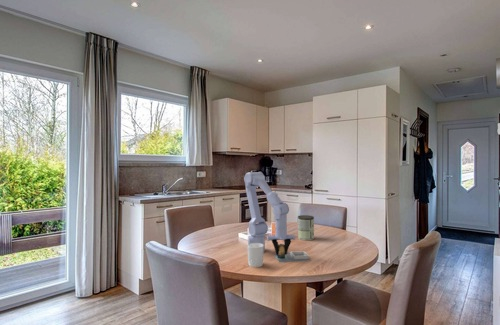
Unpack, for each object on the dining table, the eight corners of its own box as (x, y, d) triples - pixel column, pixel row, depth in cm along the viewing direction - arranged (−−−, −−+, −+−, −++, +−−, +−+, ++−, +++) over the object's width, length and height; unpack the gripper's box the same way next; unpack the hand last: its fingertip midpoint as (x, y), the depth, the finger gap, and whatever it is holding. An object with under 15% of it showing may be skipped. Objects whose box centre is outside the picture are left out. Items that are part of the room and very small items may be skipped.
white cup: (263, 263, 141) (263, 242, 141) (264, 269, 133) (264, 247, 133) (247, 263, 141) (246, 243, 141) (247, 269, 133) (247, 247, 133)
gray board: (279, 264, 139) (279, 259, 139) (273, 255, 153) (273, 250, 153) (311, 262, 142) (311, 257, 142) (302, 253, 156) (302, 249, 156)
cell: (278, 258, 145) (278, 245, 145) (276, 255, 149) (276, 243, 149) (286, 258, 145) (286, 244, 145) (284, 255, 149) (284, 242, 149)
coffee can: (297, 236, 192) (297, 215, 193) (313, 236, 191) (312, 215, 192) (298, 240, 182) (298, 218, 182) (315, 240, 181) (314, 218, 181)
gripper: (268, 229, 142) (268, 257, 142) (297, 228, 144) (297, 255, 144) (265, 226, 149) (266, 252, 149) (293, 225, 151) (293, 251, 151)
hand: (281, 254), depth 147 cm, fingers closed on cell, 4 cm apart
